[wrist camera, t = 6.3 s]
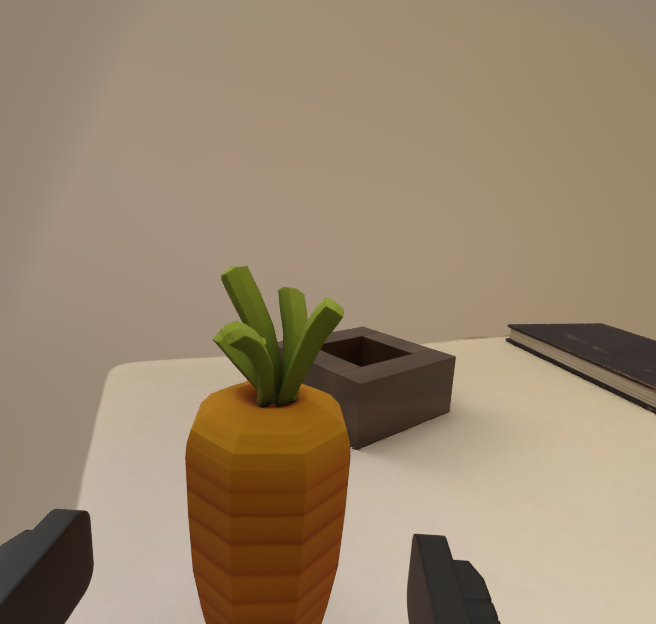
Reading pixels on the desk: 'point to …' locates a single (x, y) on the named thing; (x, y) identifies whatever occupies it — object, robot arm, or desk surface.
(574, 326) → the hardcover book
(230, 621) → the carrot
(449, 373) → the holder
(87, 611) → the desk surface
